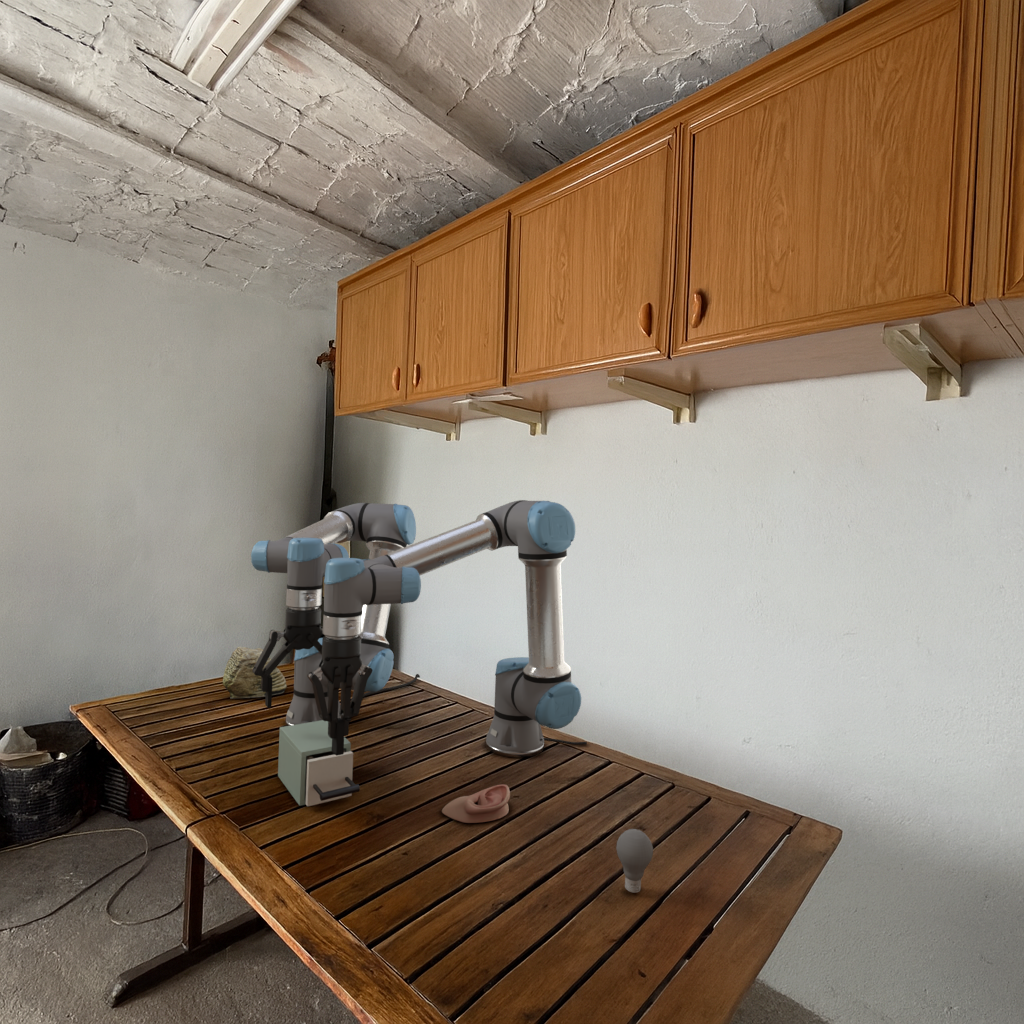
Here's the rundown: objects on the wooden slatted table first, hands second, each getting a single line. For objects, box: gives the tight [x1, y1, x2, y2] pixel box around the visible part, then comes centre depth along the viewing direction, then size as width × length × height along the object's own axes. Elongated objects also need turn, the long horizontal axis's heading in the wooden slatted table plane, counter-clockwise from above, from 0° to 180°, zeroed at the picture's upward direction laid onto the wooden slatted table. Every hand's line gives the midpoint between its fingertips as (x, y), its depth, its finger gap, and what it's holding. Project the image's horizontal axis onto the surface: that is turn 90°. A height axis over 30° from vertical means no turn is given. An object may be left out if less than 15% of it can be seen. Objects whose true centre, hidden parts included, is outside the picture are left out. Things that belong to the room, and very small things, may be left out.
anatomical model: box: [441, 784, 511, 824], centre depth 131 cm, size 13×4×12 cm
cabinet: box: [277, 720, 352, 807], centre depth 139 cm, size 16×10×11 cm, turn 36°
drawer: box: [305, 750, 361, 807], centre depth 134 cm, size 21×9×9 cm, turn 36°
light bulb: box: [615, 828, 654, 894], centre depth 106 cm, size 6×6×10 cm
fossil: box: [222, 646, 288, 699], centre depth 198 cm, size 9×18×15 cm, turn 132°
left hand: (300, 701), depth 142 cm, fingers open, 13 cm apart
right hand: (337, 752), depth 127 cm, fingers closed
